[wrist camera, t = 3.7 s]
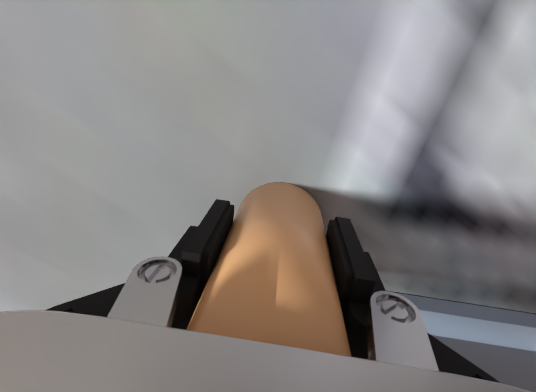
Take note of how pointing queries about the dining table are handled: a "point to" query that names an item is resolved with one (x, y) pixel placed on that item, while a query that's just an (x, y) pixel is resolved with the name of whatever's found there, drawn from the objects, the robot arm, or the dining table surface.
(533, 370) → the housing
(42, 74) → the dining table surface
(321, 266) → the tan capsule rod
